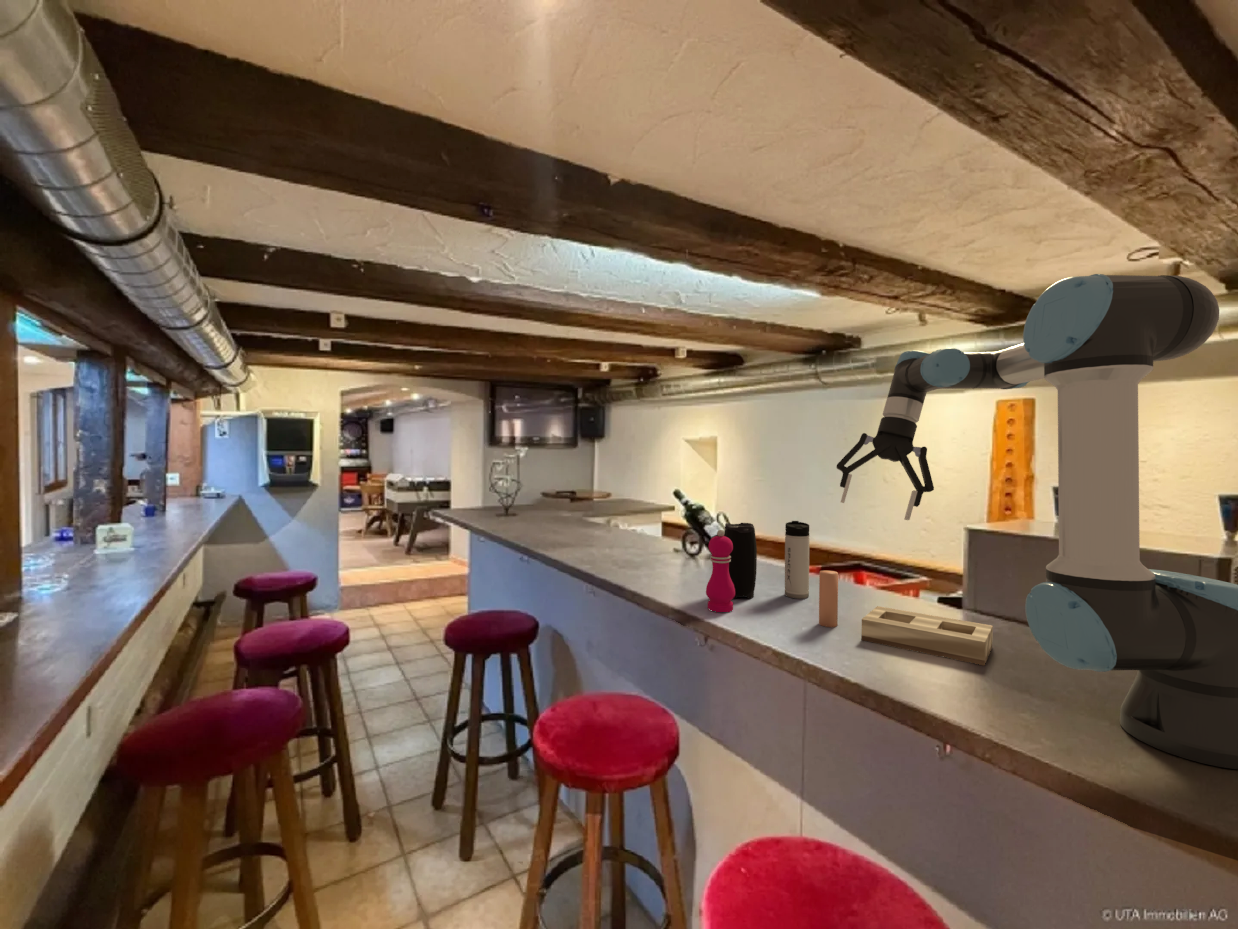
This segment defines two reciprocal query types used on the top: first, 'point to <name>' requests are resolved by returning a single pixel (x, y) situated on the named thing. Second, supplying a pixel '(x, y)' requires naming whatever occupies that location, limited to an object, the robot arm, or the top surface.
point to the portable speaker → (742, 558)
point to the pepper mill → (720, 575)
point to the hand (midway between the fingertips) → (873, 511)
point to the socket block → (928, 634)
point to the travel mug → (797, 560)
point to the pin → (828, 598)
